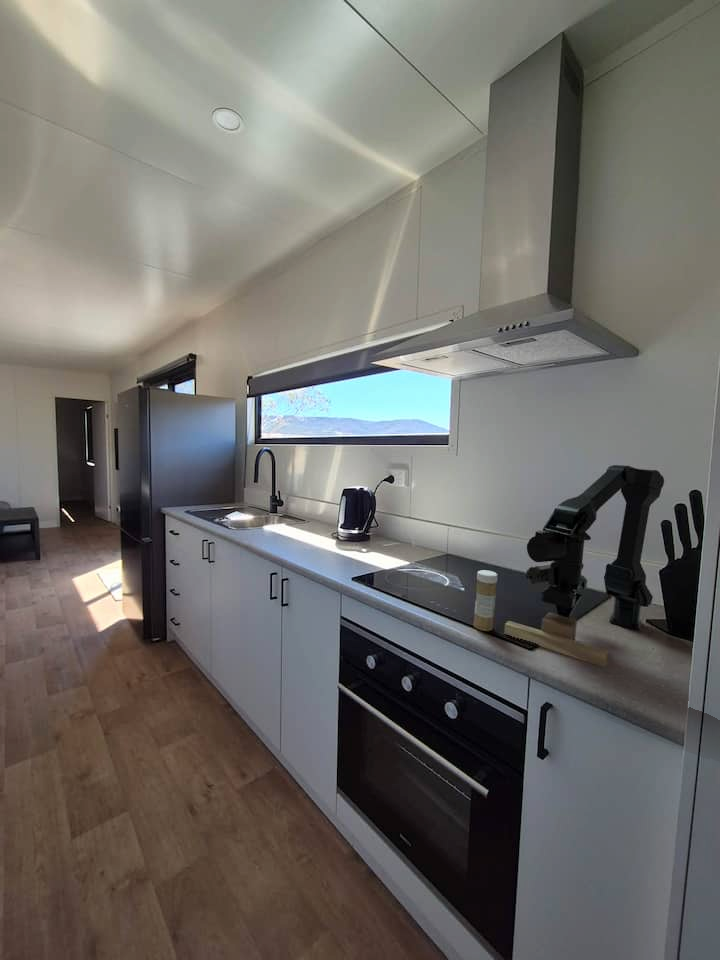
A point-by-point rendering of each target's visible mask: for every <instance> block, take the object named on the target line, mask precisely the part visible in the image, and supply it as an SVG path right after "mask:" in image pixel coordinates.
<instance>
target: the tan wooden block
mask: <svg viewBox="0 0 720 960" xmlns="http://www.w3.org/2000/svg"><path fill="white" fill-rule="evenodd" d="M577 623H578V620H577V619H575V618H571V617H569V618H568V617H564V616H561V615H558V614H557V613H554V612H547V613H546V614H545V615H544V617H543V618H542V619H541V626H540V627H541V628H540V630H541V631H544V632H547V633H551V634H554V635H557V636H561V637H564V638H567V639H571V640H574V641H576V635H577Z"/></svg>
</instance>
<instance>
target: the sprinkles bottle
mask: <svg viewBox="0 0 720 960" xmlns="http://www.w3.org/2000/svg"><path fill="white" fill-rule="evenodd" d="M476 573H477V575H476V582H477V584H476V585H477V586H476V593H475V596H476V597H475V604H474V617H473V619H474V620H473V627H474V628H476V630H477V629H478V631H479V630H480V631H482V632H483V631H484V632H489V631H492V630H493V629H494V626H493V625H494V624H493V623H494V616H495V608H496V607H495V604H496V590H497V583H498V573H496V572H495V571H492V570H485V569H482V570H478V571H477V572H476Z"/></svg>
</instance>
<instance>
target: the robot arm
mask: <svg viewBox="0 0 720 960" xmlns="http://www.w3.org/2000/svg"><path fill="white" fill-rule="evenodd" d="M664 484H665V478H664V476H663V475H662V474H661V472H660V471H659V470H657V469H644V468H636V467H633V466H630V465H621V464H613V465H610V466H608V467H607V468H606V471H605V472H604V473H603V474H602V475H601V476H599V478H598V479H597V480H596V481H593V483H592V484H591V485H590V486H589V487H587V488H586V489H585V490H584V491H583V492H582V493H581V494H579V495H577V496H576V497H572V498H567V499H566V500H563V501H562V502H560V503H559V504H557V505H556V506H555V508H554V509H553V512H552V513H551V515H550V516H549V519H548V520H547V521H546V523H545V524H544V526H543V528H542V530H535V535H534V536H532V537H531V538H529V540H528V542H527V544H526V551H527V554H528V556H529V558H530V559H531V560H532V561H533V562H535V563H546V562H550V564H546V565H539V566H538V565H535V566H530V567H529V568H528V569H526V575H525V578H526V579H528V582H529V584H531V585H533V584H536V583H544V582H548V583H547V584H548V586H546V587H545V588H544V589H543V590H542V591H541V595H540V601H542V602H543V603H547V604H550V605H555V608H556V614H557V615H561V616H564V617H568V618H570V617H571V615H572V613H573V611H574V609H575V608H576V606H578V605H577V604H578V602H579V601H580V600H581V598H582V594H580V593H577V592H576V591H578V590H579V589H580V588H581V590H583V591H586V589H587V588H588V579H587V578H586V577H585V576H584V575H582V571H583V569H584V565H585V564H584V563H583V558H584V551H585V550H584V548H585V547H584V546H585V541H591V540H592V537H591V536H590V534H589V533H588V532H587V531H588V530H589V529H590V528H591V527H592V525H593V524H594V523H595V521H597V512H598V511H599V510H600V509H601V508H602V507H603V506H604V505H605V504H606V503H607V502H608V501H609V500H610V499H612V497H614V496H615V495H616V494H617V493H618V492H620V493H621V495H622V497H623V499H624V502H625V507H624V515H623V520H622V526H621V533H620V539H619V543H618V548H617V549H618V550H617V555H616V558H615V559H614V560H613V561H612V562H611V563H607V564H606V565H605V572H604V576H603V580H604V588H605V589H604V590H605V594H606V595H607V596H610V597H613V598H614V599H613V601H614V602H613V607H612V608H613V609H612V610H613V611H612V614H611V615H610V617H609V621H608V622H609V623H610V624H615V625H618V626H622V627H626V628H629V629H633V630H637V631H641V626H642V620H640V619H641V608H642V607H644V608H645V607H647V608H648V607H649V606H651V604H652V602H653V597H654V596H653V594H652V593H651V592H650V589H649V588H648V586H647V583H646V582H647V575H646V572H645V570H644V568H643V566H642V564H641V560H642V554H643V548H644V541H645V536H646V530H647V524H648V519H649V513H650V508H651V505H653V504H654V502H656V501H657V500H658V499H659V498H660V496H661V493H662V489H663V488H664Z"/></svg>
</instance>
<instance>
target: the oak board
mask: <svg viewBox="0 0 720 960" xmlns="http://www.w3.org/2000/svg"><path fill="white" fill-rule="evenodd" d="M504 634H507V635H510V636H512V637H511V638H513V637H515V638H514V639H517V638H519V639H518V640H520V639H523V640H527V641H530V642H533V643H536V644H538V645H539V646H538V645H537V646H538V647H542V648H544V649H548V650H551V651H554V652H557V653H560V654H563V655H567V656H569V657H571V658H574V659H578V660H581V661H585V662H587V663H590V664H594V665H595V666H599V667H603V668H605V667H606V664H607V661H608V660H607V659H608V658H607V657H608V650H607V649H603V648H599V647H597V646H593V645H590V644H587V643H583V642H580V641H577V640H575V641H574V640H571V639H567V638H564V637H561V636H557V635H554V634H551V633H547V632H544V631H541V629H537V628H534V627H530V626H527V625H524V624H521V623H518V622H514V621H510V620H508V621H507V622H506V623H504V631H503V635H504ZM507 635H506V636H507ZM510 636H509V637H510ZM523 640H522V641H523Z"/></svg>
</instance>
